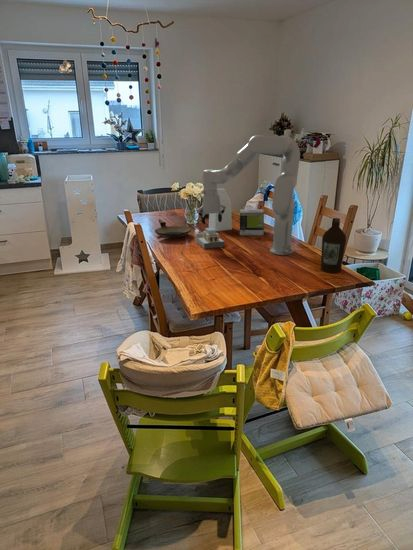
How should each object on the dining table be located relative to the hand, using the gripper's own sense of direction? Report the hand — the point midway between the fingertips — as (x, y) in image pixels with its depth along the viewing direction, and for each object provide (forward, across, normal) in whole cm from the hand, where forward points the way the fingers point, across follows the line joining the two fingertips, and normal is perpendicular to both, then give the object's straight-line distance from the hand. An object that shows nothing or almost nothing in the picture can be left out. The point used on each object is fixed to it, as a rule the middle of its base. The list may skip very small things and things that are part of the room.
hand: (211, 222), depth 223 cm
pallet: (+10, -1, +1) cm, 10 cm away
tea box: (+14, +31, +14) cm, 37 cm away
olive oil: (+16, +39, -58) cm, 72 cm away
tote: (+6, -1, +1) cm, 6 cm away
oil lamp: (+12, -17, +27) cm, 34 cm away
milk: (+13, +17, +33) cm, 39 cm away
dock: (+13, -1, +2) cm, 13 cm away
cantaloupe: (+12, +20, +71) cm, 75 cm away
